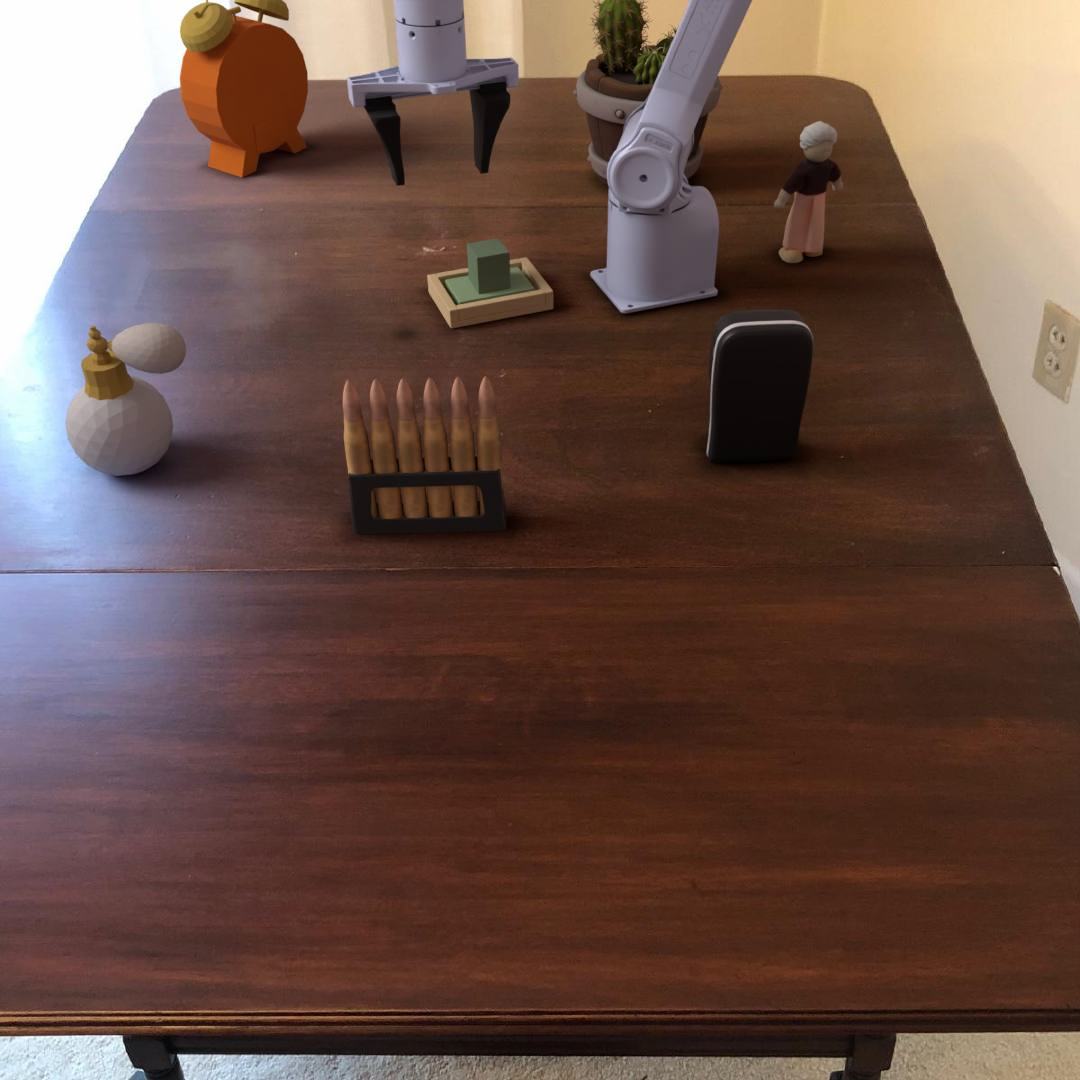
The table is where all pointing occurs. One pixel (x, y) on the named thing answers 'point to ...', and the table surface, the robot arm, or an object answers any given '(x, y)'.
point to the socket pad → (491, 307)
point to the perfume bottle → (124, 400)
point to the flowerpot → (626, 82)
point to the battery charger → (758, 385)
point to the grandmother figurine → (809, 194)
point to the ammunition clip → (424, 463)
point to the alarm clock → (242, 83)
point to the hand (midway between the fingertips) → (440, 175)
